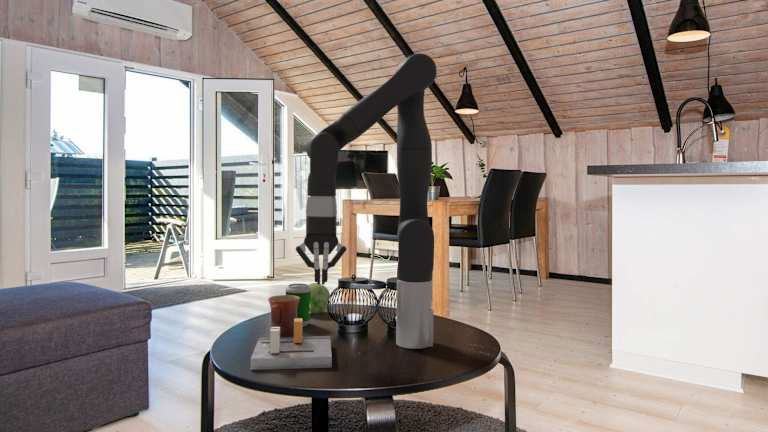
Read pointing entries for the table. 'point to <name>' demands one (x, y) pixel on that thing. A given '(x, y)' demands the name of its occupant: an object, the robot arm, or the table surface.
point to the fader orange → (298, 330)
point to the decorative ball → (318, 297)
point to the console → (293, 354)
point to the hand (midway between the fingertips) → (320, 283)
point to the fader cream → (275, 340)
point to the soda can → (302, 300)
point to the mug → (284, 313)
